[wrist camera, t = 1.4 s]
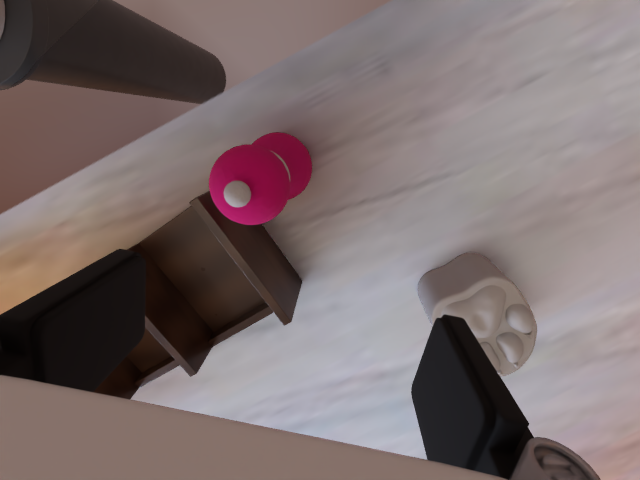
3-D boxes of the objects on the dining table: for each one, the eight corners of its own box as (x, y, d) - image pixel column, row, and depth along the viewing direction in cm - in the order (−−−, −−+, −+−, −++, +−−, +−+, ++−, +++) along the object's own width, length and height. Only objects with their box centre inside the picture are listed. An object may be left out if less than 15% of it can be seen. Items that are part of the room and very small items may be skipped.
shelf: (78, 286, 48) (14, 326, 39) (230, 180, 42) (196, 197, 32) (153, 366, 52) (110, 420, 42) (302, 280, 45) (291, 321, 36)
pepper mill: (321, 184, 41) (302, 235, 22) (266, 199, 42) (202, 259, 23) (305, 124, 39) (269, 123, 20) (247, 141, 40) (160, 155, 21)
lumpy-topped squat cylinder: (482, 243, 42) (516, 272, 34) (524, 321, 45) (564, 365, 37) (407, 282, 44) (422, 318, 36) (452, 353, 48) (474, 401, 39)
